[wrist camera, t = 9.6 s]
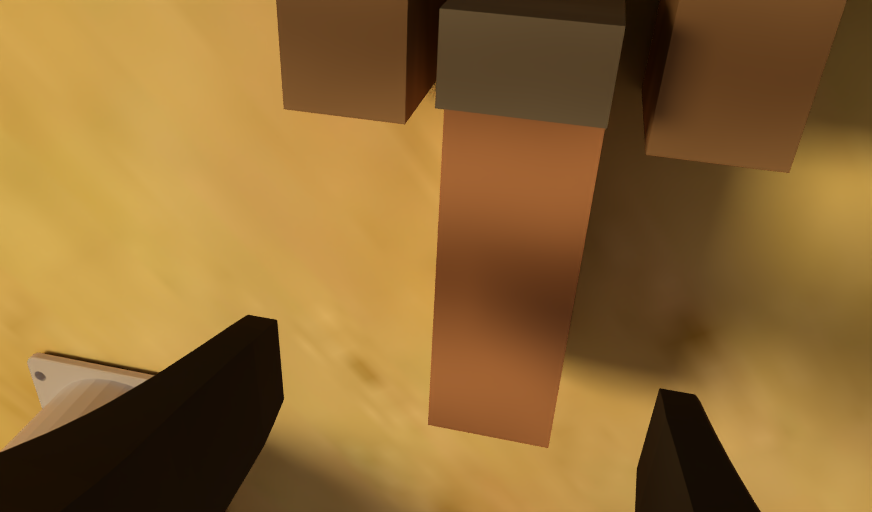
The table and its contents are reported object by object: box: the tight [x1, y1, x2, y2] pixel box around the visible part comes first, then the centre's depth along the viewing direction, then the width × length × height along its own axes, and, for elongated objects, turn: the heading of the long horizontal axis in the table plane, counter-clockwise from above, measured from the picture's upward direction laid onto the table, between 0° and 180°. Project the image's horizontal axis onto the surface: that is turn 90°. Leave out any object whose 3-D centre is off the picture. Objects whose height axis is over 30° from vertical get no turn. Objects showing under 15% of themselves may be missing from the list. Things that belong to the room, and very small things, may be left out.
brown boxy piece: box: [428, 0, 625, 448], centre depth 19 cm, size 12×4×6 cm, turn 177°
